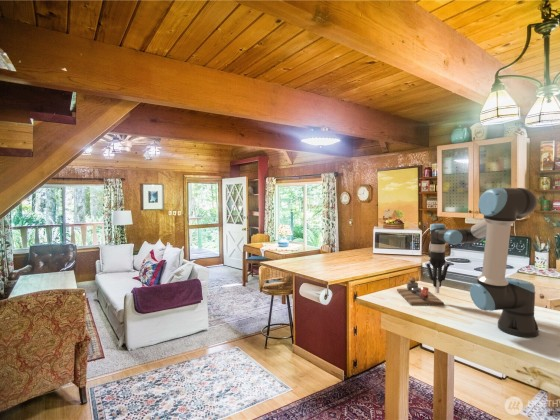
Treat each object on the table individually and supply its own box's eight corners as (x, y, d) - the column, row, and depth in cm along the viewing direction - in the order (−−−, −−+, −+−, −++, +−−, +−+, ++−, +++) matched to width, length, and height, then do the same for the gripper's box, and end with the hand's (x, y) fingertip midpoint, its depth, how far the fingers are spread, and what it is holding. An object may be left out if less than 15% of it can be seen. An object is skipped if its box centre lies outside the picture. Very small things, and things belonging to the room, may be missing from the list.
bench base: (443, 305, 183) (444, 288, 182) (410, 305, 184) (410, 288, 183) (425, 291, 209) (426, 276, 208) (396, 291, 210) (397, 276, 209)
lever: (430, 300, 185) (431, 288, 185) (420, 300, 186) (420, 288, 185) (418, 290, 205) (418, 279, 205) (408, 290, 205) (409, 279, 205)
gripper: (446, 249, 189) (445, 290, 190) (423, 249, 190) (422, 290, 191) (452, 252, 181) (451, 294, 183) (428, 252, 182) (427, 294, 184)
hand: (437, 292), depth 187 cm, fingers closed
